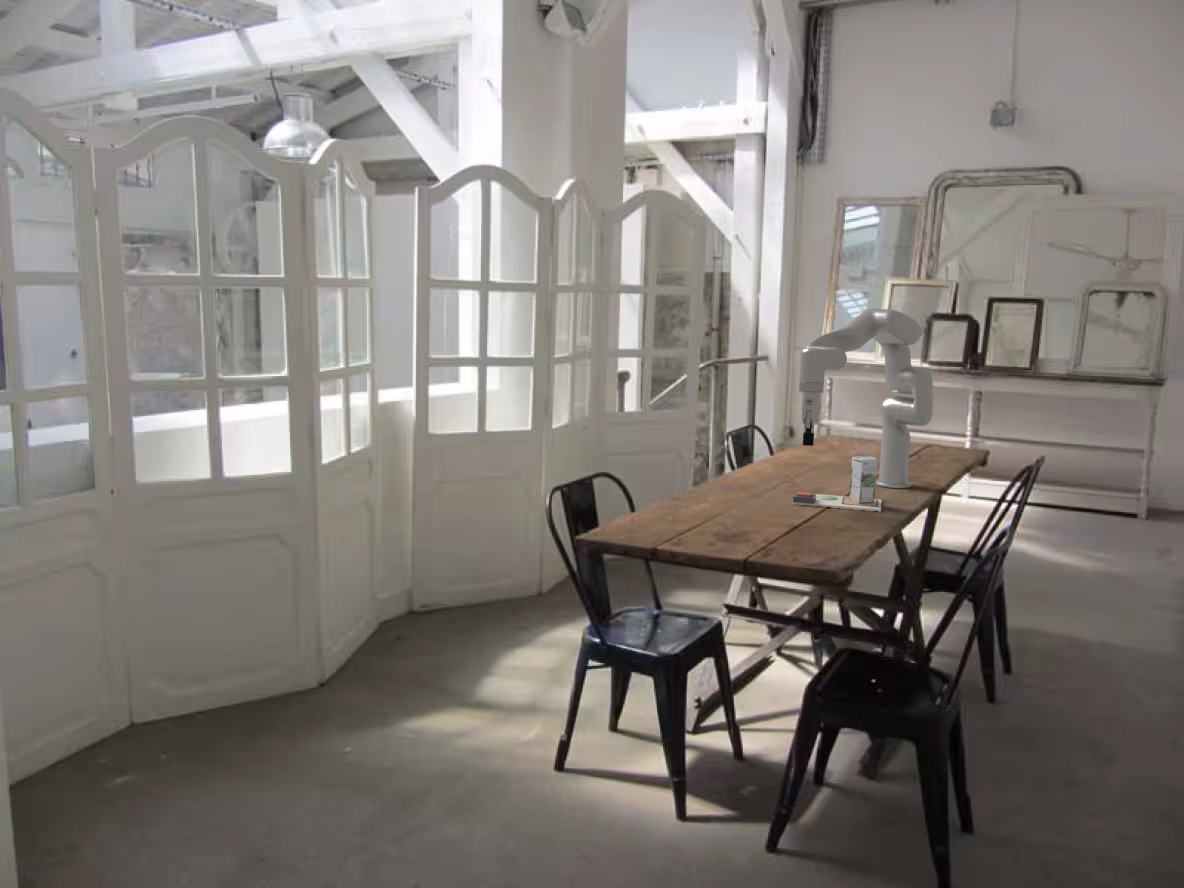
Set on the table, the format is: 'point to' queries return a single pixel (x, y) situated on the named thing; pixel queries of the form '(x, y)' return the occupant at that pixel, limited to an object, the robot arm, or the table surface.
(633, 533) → the table surface
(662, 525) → the table surface
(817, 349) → the robot arm
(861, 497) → the syrup box
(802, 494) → the button
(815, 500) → the picture board
